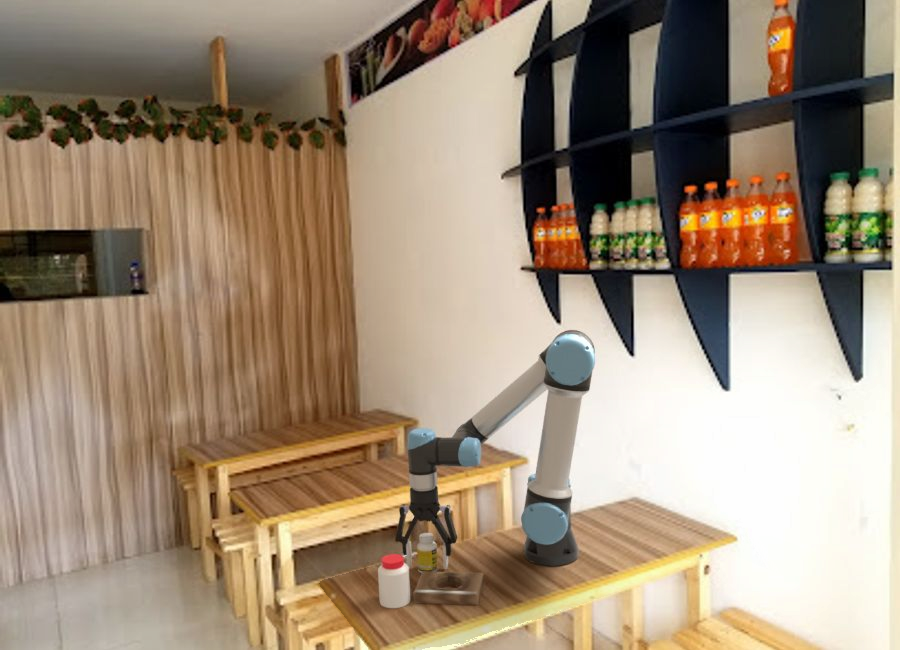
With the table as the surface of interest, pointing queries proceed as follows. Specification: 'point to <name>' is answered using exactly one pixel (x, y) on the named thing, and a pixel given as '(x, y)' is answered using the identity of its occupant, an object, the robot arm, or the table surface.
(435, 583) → the jig
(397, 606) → the pill bottle
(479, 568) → the table surface
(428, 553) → the supplement bottle
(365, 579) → the table surface
